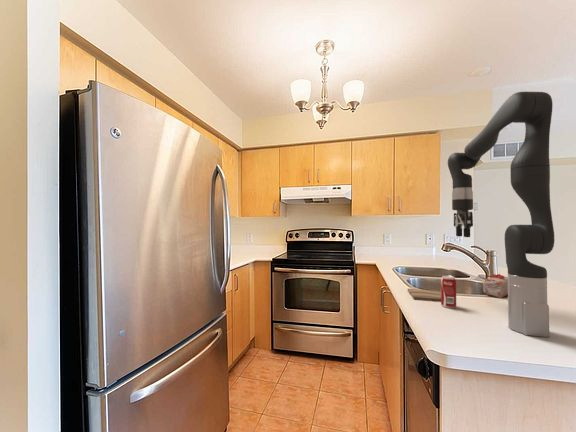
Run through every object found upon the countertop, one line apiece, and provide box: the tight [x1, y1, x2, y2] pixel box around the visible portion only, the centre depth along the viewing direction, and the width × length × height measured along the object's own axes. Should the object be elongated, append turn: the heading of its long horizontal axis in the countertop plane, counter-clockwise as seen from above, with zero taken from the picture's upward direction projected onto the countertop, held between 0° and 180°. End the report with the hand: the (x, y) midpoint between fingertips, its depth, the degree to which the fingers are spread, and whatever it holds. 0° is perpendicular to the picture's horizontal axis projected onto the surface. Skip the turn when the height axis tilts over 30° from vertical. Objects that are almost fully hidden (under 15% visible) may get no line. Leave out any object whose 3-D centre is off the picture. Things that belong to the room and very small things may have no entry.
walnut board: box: [407, 288, 441, 302], centre depth 121 cm, size 15×15×1 cm
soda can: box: [440, 275, 457, 309], centre depth 106 cm, size 5×5×12 cm
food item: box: [482, 273, 508, 299], centre depth 123 cm, size 14×8×10 cm, turn 125°
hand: (462, 236), depth 112 cm, fingers open, 8 cm apart
